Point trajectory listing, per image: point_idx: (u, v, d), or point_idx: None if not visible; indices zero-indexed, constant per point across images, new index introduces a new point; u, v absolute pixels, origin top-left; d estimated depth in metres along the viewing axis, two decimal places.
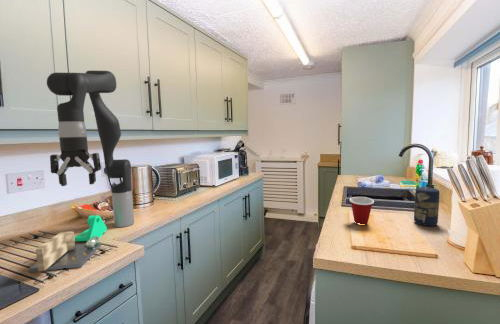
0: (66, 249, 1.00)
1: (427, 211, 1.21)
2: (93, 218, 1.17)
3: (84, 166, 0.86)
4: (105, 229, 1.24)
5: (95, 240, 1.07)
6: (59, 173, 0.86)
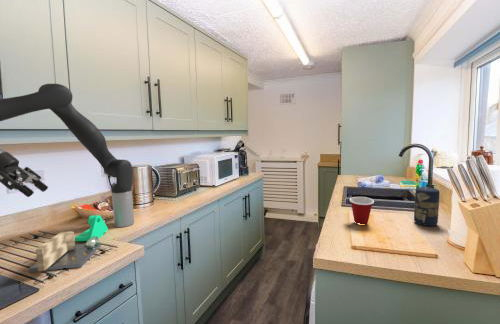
0: (66, 249, 1.00)
1: (427, 211, 1.21)
2: (94, 218, 1.17)
3: None
4: (106, 229, 1.24)
5: (95, 240, 1.07)
6: None
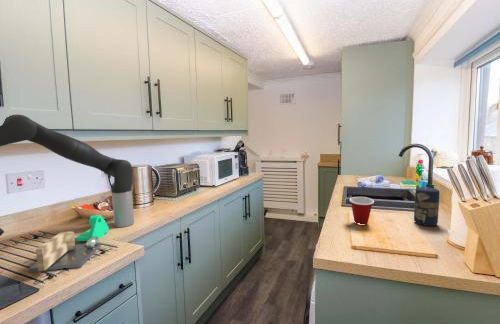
0: (66, 249, 1.00)
1: (427, 211, 1.21)
2: (95, 218, 1.16)
3: None
4: (107, 229, 1.24)
5: (95, 240, 1.07)
6: None
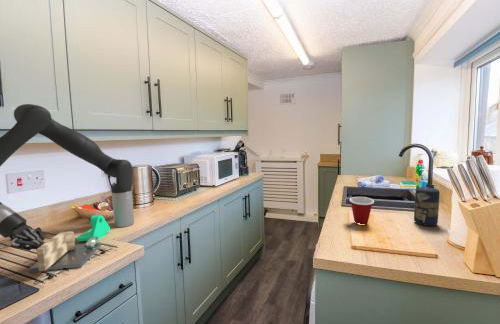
0: (66, 249, 1.00)
1: (427, 211, 1.21)
2: (96, 218, 1.16)
3: None
4: (108, 229, 1.24)
5: (95, 240, 1.07)
6: None
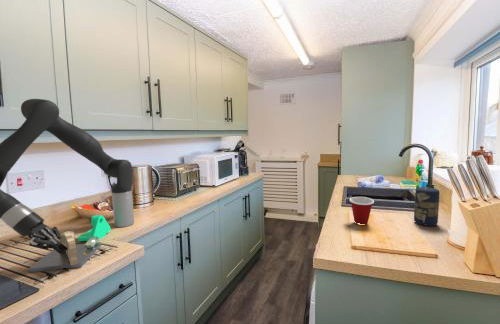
0: None
1: (427, 211, 1.21)
2: (96, 218, 1.16)
3: None
4: (109, 229, 1.24)
5: (95, 240, 1.07)
6: None
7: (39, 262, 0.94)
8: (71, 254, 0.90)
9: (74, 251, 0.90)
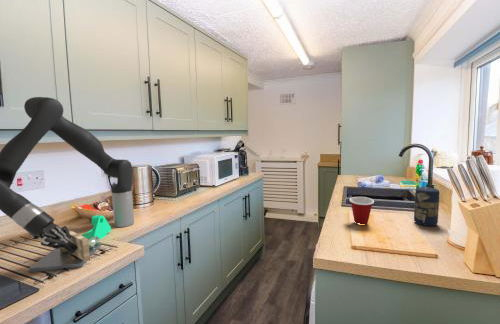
0: None
1: (427, 211, 1.21)
2: (97, 218, 1.16)
3: None
4: (109, 229, 1.23)
5: (95, 240, 1.07)
6: None
7: (39, 262, 0.94)
8: (84, 250, 0.92)
9: (87, 247, 0.93)
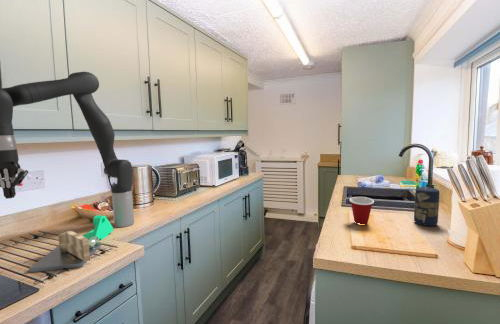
0: None
1: (427, 211, 1.21)
2: (98, 218, 1.16)
3: (6, 179, 0.91)
4: (111, 229, 1.23)
5: (95, 240, 1.07)
6: (3, 186, 0.92)
7: (39, 262, 0.94)
8: (84, 250, 0.92)
9: (87, 247, 0.93)
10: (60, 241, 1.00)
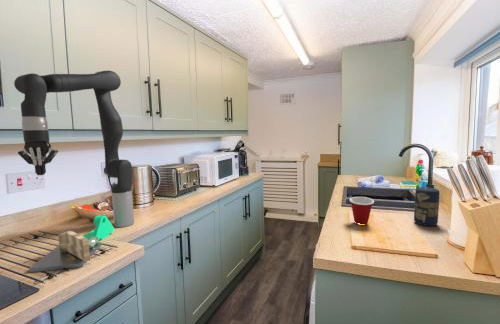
0: None
1: (427, 211, 1.21)
2: (99, 218, 1.16)
3: (38, 157, 0.99)
4: (112, 229, 1.23)
5: (95, 240, 1.07)
6: (35, 164, 1.00)
7: (39, 262, 0.94)
8: (84, 250, 0.92)
9: (87, 247, 0.93)
10: (60, 241, 1.00)
